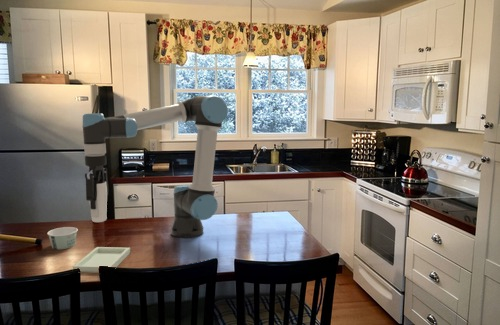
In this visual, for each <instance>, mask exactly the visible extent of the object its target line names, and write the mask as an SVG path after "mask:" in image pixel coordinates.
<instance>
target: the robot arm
mask: <svg viewBox="0 0 500 325" xmlns="http://www.w3.org/2000/svg"><path fill="white" fill-rule="evenodd" d="M228 109H229V108H228V104H227V103H226V101H225V100H224V98H222V97H220V96H217V95H214V94H209V95H197V96H194V97H191V98H188V99H187V98H186V99H185V100H180V101H177V103H176V104H172V105H166V106H162V107H157V108H151V109H146V110H141V111H136V112H131V113H126V114H122V115H115V116H107V117H105V116H104V114H103V113H84V114H83V115H82V134H83V149H84V155H85V156H84V165H85V166H86V167H89V170H88V172H87V173H85V174H84V178H85V197H86V201H90V202H89V207H90V208H89V209H90V217H91V218H92V217H99V210H98V200H96V199H97V184H101V183H104V182H103V181H106V184H107V196H109V191H110V190H109V181H108V167H104V166H106V165H107V155H106V154H107V146H106V145H107V144H106V139H120V138H121V139H122V138H127V139H129V138H134V137H136V136H137V134H138V131H139V130H144V129H149V128H154V127H158V126H163V125H167V124H172V123H177V122H181V123H186V122H194V126H195V127H196V128H197V136H196V144H195V153H194V163H193V164H194V166H193V174H192V183H191V184H182V185H181V184H180V185H177V186H175V187H174V189H173V208H174V211H173V212H174V217H173V222H172V225H171V231H170V232H171V233H170V234H171V236H174V237H176V238H184V239H186V238H194V237H198V236H201V235H203V234H204V226H203V222H202V221H206V220H208V219H211V218H212V217H213V216H214V215H215V214H216V212H217V210H218V207H219V206H218V200H217V198H216V197H215V188H214V186H213V185H212V184H213V179H214V178H213V176H214V167H215V158H216V147H217V139H218V132H219V131H220V130H221V129H222V125H223V122H224V121H225V120H226V118H227V117H228V113H229V112H228V111H229V110H228Z"/></svg>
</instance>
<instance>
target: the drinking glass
mask: <svg viewBox="0 0 500 325" xmlns="http://www.w3.org/2000/svg"><path fill="white" fill-rule="evenodd" d="M103 182H104V183H101V184H97V199H96V200H98V210H99V217H91V221H92V222H94V223H103V222H105V221H107V219H108V217H107V212H108V210H107V209H108V208H107V205H108V203H107V202H108V195H107V184H106V181H103ZM89 203H90V201H89Z"/></svg>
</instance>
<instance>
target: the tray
mask: <svg viewBox="0 0 500 325" xmlns="http://www.w3.org/2000/svg"><path fill="white" fill-rule="evenodd" d="M130 254H131V247H120V246H119V247H118V246H116V247H115V246H114V247H113V246H111V247H110V246H109V247H108V246H106V247H105V246H96V247H95V248H94V249H92V250H91V251H90V252H89V253H88V254H86V255H85V256H84V257H83V258H82V259H80V260H79V261H78V262H76V263H75V264H74V265H73V266H72V270H73V269H77V268H79V269H80V271H81V272H80V273H91V274H92V273H94V274H96V273H99V272H98V268H99V266H108V267H116V268H117V267H119V265H120V264H121V263H122V262H123V261H124V260H125V259H126V258H127V257H128V256H129V255H130ZM99 274H100V273H99Z"/></svg>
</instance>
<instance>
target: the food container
mask: <svg viewBox="0 0 500 325" xmlns="http://www.w3.org/2000/svg"><path fill="white" fill-rule="evenodd" d="M78 231H79V229H78V228H77V227H73V226H63V227H57V228H54V229H53V228H52V229H51V230H49V231H48V232H47V236H48V237H49V238H48V239H49V241H50V244H51V249H54V250H64V249H65V250H67V249H70V248H73V247H75V245H76V242H77V233H78Z"/></svg>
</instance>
